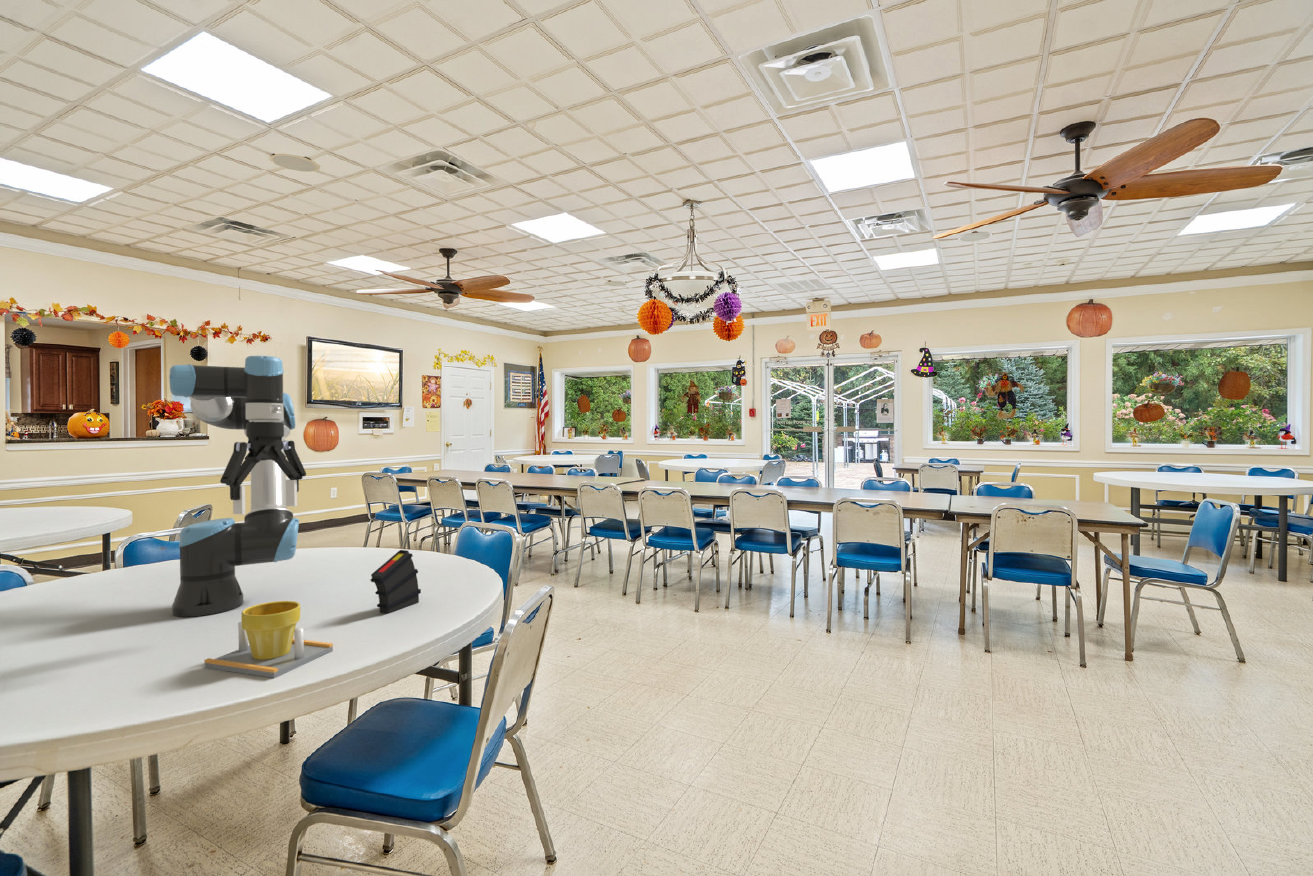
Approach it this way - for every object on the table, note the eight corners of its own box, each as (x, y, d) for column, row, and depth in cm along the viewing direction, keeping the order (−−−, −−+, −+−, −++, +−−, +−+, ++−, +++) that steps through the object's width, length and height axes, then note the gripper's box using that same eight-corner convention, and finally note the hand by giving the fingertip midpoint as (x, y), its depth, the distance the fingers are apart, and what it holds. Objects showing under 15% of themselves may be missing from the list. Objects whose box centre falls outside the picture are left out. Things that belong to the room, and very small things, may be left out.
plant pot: (311, 644, 127) (310, 599, 126) (282, 663, 116) (281, 615, 116) (263, 644, 126) (262, 600, 126) (229, 664, 116) (228, 616, 116)
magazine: (429, 593, 162) (410, 550, 156) (395, 627, 152) (373, 582, 145) (419, 591, 164) (400, 548, 158) (384, 625, 153) (363, 580, 147)
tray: (204, 667, 117) (203, 633, 117) (268, 642, 130) (267, 611, 130) (274, 678, 112) (273, 642, 112) (332, 650, 125) (332, 618, 125)
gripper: (225, 420, 125) (227, 518, 126) (321, 421, 149) (322, 503, 150) (199, 421, 127) (201, 517, 128) (297, 421, 151) (299, 502, 152)
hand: (266, 509), depth 139 cm, fingers open, 13 cm apart
